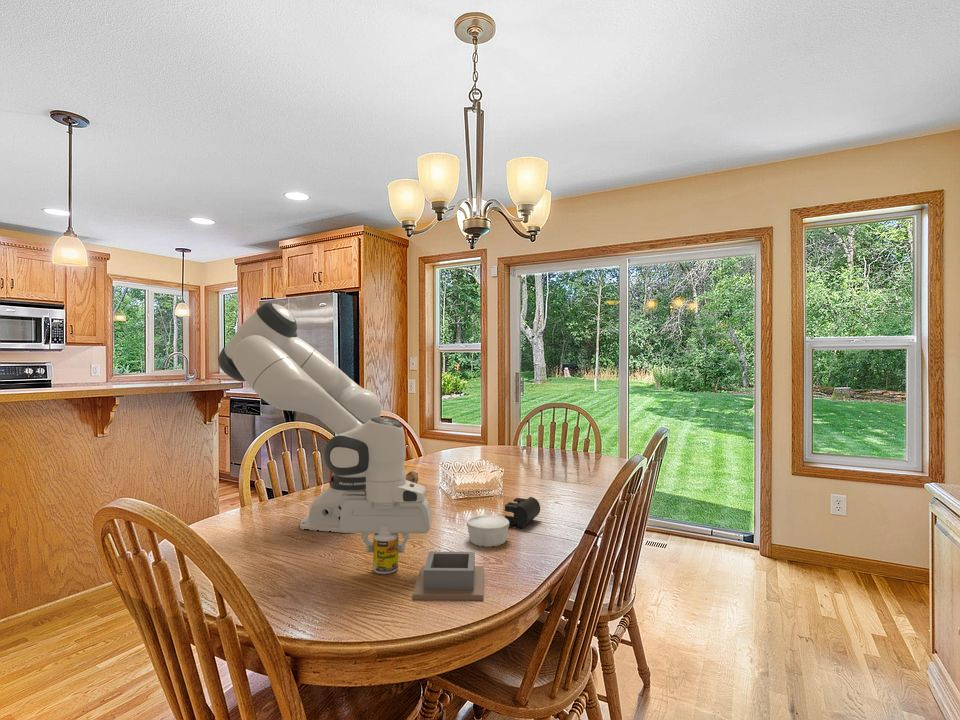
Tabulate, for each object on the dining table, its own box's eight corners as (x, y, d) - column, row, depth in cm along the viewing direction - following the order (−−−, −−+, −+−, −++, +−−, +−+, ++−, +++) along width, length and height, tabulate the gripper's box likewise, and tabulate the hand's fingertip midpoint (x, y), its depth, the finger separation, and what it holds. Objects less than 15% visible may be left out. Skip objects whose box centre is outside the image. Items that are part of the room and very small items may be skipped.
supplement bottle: (373, 576, 113) (373, 529, 113) (372, 566, 119) (372, 521, 119) (399, 574, 115) (399, 527, 114) (397, 564, 120) (397, 520, 120)
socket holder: (412, 599, 103) (412, 574, 102) (421, 570, 117) (421, 548, 116) (483, 600, 102) (483, 575, 102) (483, 570, 116) (483, 548, 116)
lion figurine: (417, 495, 179) (417, 469, 179) (419, 499, 174) (419, 472, 174) (374, 497, 176) (374, 471, 176) (374, 502, 171) (374, 474, 171)
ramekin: (480, 531, 143) (480, 512, 143) (516, 538, 137) (516, 518, 137) (458, 543, 133) (458, 523, 133) (496, 552, 128) (496, 531, 128)
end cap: (527, 531, 143) (527, 506, 143) (504, 527, 146) (504, 503, 146) (540, 520, 152) (540, 497, 152) (518, 517, 155) (518, 494, 155)
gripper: (335, 493, 113) (335, 556, 114) (429, 494, 113) (429, 557, 113) (343, 486, 120) (343, 546, 120) (432, 487, 119) (432, 546, 120)
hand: (385, 551), depth 117 cm, fingers closed on supplement bottle, 5 cm apart
